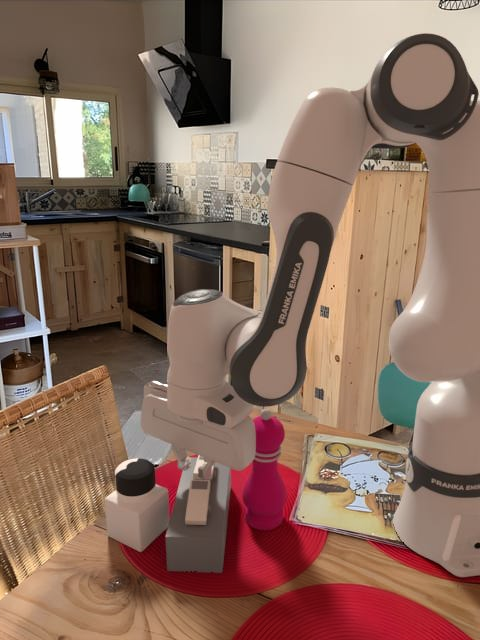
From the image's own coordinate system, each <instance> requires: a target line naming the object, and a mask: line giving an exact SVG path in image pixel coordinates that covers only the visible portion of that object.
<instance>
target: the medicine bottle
mask: <svg viewBox="0 0 480 640" xmlns="http://www.w3.org/2000/svg"><path fill="white" fill-rule="evenodd" d="M155 470H156V468H155V465H154V464H153V462H151V461H150V460H148V459H145V458H140V457H139V458H136V457H135V458H130V459H127V460H124V461H123V462H121V463H120V464H119V465H118V466H117V467H116V469H115V470H114V481H115V490H114V491H113V492H112V493H110V494H109V495H107V496H106V497H104V511H105V512H104V513H105V521H106V523H105V524H106V530H107V531H106V532H107V536H108V537H109V538H111V539H114V540H115V541H118V542H120V543H121V544H123V545H125V546H127V547H130V548H131V549H132V550H135V551H137V552H140V553H142V552H143V551H145V550H146V549H147V547H149V545H150V544H152V543H153V542H154V541H155V540H156V539H157V538H158V537H159V536H160V535H161V534H163V533H164V531H166V530H167V529H168V525H169V521H170V506H169V505H170V503H169V500H170V499H169V490H168V488H167V487H163V486H161V485H159V484H157V483H156V471H155Z"/></svg>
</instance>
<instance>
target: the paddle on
mask: <svg viewBox="0 0 480 640" xmlns="http://www.w3.org/2000/svg"><path fill="white" fill-rule="evenodd" d="M209 493H210V480H191V482H190V489H189V496H188V503H187V510H186V517H185V524H188V525H206V521H207V512H208V502H209Z"/></svg>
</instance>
